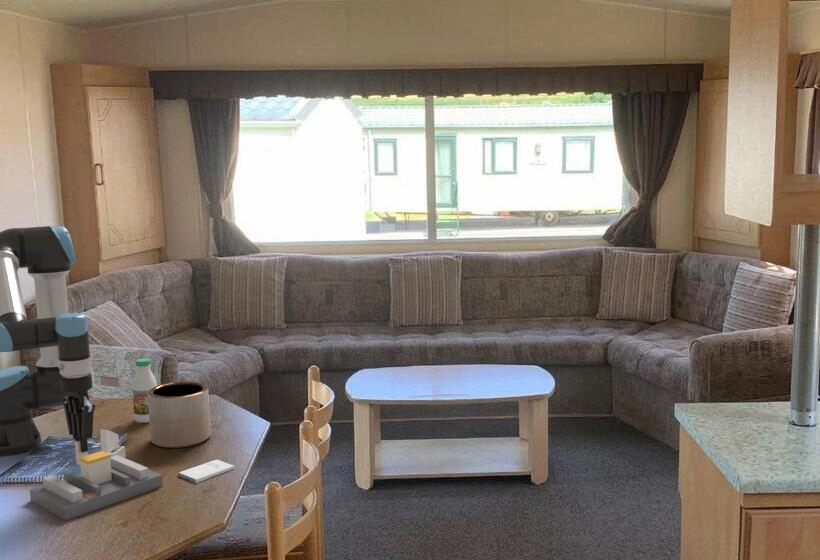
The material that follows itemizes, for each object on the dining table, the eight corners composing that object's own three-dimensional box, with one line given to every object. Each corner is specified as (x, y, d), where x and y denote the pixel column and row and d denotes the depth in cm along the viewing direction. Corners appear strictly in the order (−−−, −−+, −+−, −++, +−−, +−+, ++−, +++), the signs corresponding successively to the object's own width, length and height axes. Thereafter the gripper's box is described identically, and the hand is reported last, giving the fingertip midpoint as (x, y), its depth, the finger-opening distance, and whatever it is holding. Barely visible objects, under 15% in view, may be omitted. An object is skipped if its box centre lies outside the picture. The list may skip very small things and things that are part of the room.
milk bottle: (134, 417, 272) (130, 358, 269) (159, 414, 274) (155, 356, 271) (134, 424, 265) (130, 363, 262) (159, 421, 267) (155, 361, 264)
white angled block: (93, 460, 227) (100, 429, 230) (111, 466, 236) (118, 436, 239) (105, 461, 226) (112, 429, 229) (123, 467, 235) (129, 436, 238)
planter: (215, 444, 245) (212, 393, 243) (153, 453, 239) (149, 400, 237) (206, 426, 262) (204, 378, 259) (148, 434, 255) (144, 385, 253)
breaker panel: (30, 500, 207) (28, 480, 206) (125, 469, 227) (123, 450, 226) (66, 520, 196) (64, 498, 195) (162, 486, 215) (161, 466, 214)
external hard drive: (178, 477, 222) (216, 464, 231) (196, 485, 217) (234, 470, 226) (177, 472, 222) (215, 458, 231) (196, 479, 216) (234, 465, 226)
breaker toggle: (81, 483, 210) (79, 457, 209) (103, 476, 214) (102, 450, 213) (89, 487, 207) (87, 461, 206) (112, 479, 212) (110, 454, 211)
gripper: (49, 373, 212) (56, 461, 216) (74, 381, 204) (81, 473, 207) (77, 367, 218) (83, 453, 221) (102, 375, 209) (109, 464, 213)
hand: (82, 462), depth 214 cm, fingers closed
